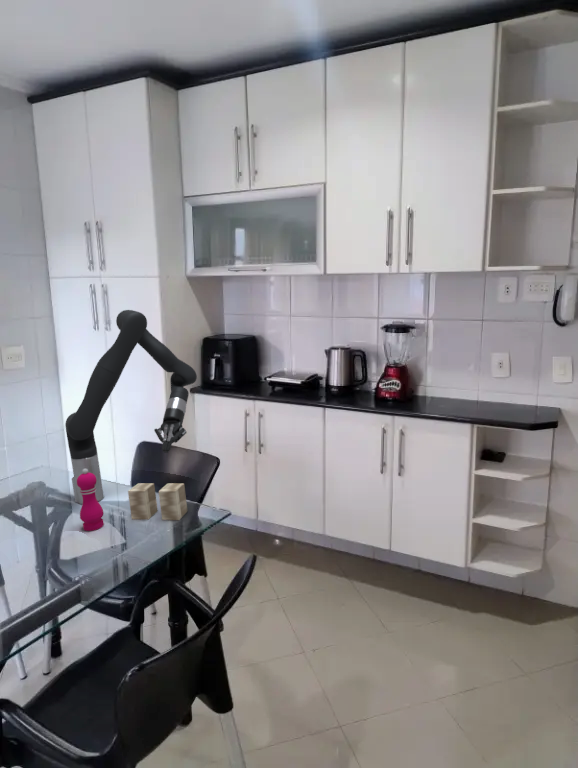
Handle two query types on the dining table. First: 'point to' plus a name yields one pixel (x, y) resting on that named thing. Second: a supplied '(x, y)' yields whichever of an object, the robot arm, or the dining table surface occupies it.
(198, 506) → the dining table surface
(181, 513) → the post right
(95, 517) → the pepper mill
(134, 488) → the post left
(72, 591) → the dining table surface
